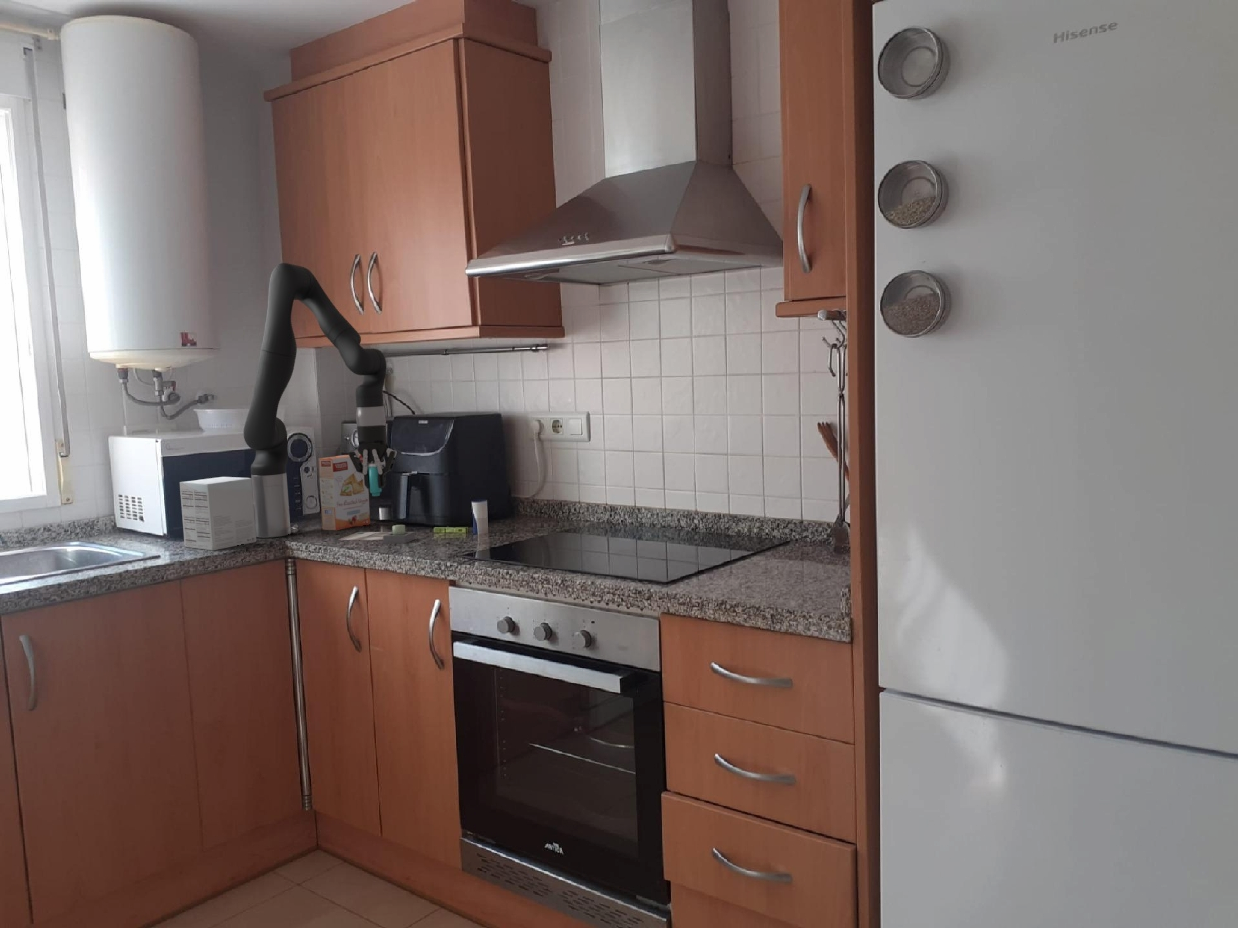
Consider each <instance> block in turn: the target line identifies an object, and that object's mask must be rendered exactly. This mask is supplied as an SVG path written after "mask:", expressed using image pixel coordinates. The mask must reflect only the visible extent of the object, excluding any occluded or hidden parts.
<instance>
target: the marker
mask: <svg viewBox="0 0 1238 928" xmlns="http://www.w3.org/2000/svg"><path fill="white" fill-rule="evenodd" d="M368 469H369V483H370V489H369V492H370V493H371V496H372V497H379V496H380V495H381V493H382V490H383V489H382V488H379V486H378V475H379V473H378V469H377V466H376V464H375V462H374V463H373V464H368Z"/></svg>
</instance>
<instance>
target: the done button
mask: <svg viewBox="0 0 1238 928" xmlns="http://www.w3.org/2000/svg"><path fill="white" fill-rule="evenodd" d="M391 529H392V531H391V532H393V535H405V532H406V525H405V524H396V525H392V527H391Z"/></svg>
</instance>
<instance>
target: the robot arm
mask: <svg viewBox="0 0 1238 928" xmlns="http://www.w3.org/2000/svg"><path fill="white" fill-rule="evenodd" d="M270 274H271V275H270V278H269V284H268V285H269V286H268V295H267V296H268V297H267V310H266V311H267V312H266V317H265V318H266V319H265V325H264V330H263V331H264V332H263V338H262V342H261V343H262V344H261V346H260V353H259V358H258V365H257V371H256V376H255V382H254V388H253V392H252V393H253V395H252V399H251V402H250V405H249V409H248V414H247V415H246V420H245V423H244V428H243V439H244V442H245V443H246V445H247V447H249V448H250V449H252V450H254V451H255V457H254V461H253V462H252V463H251V465H250V475H251V477H250V478H251V480H252V494H253V506H254V519H255V531H256V538H261V539H264V538H277V537H278V538H279V537H285V536H288V534H289V535H290V534H291V523H290V521H291V520H290V506H289V505H290V504H289V491H288V479H287V465H288V461H289V448H288V445H289V444H288V432H287V428H286V425H285V423H284V421H282V419H280V418H279V417H278V416H277V415H278V409H279V404H280V400H281V399H282V397H283V394H284V392H285V391H286V389H287V386H288V385H289V383H290V381H291V378H292V376H293V372H294V371H295V370H294V369H295V364H296V358H297V352H298V351H297V350H298V349H297V348H298V347H297V341H296V337H295V333H294V328H293V326H292V325H293V324H292V311H293V305H294V301H299V302H300V303H302V304H303V305H304V306H306V307H307V309H309V310H310V311H311V312H312V314H313V315H314V316H315V318H316V320H317V323H318V326H319V328H320V330H321V331H322V334H324V336H325V337H326V338H327V339H328V341H329V342H331V344H332V345H333V346H334V347H335V348H336V349H337V350H338V352H339V354H340V356H341V358H342V360H343V362H344V364H345V366H346V367H347V369H349V371H351V372H352V373H353V374H355V375H357V376H363V381H362V384H360V385H358V386H356V388H355V403H356V404H355V405H356V414H355V419H356V431H357V432H356V433H357V434H356V435H357V441H358V445H357V448H356V449H355V450H353V451H349V452H348V455H349V456H350V458H351V460H352V463H353V465H354V467H355V469H356V471H357V472H360V473H362V474H363V475H364V484H365V486H366V488H367V489H368V490H370V483H369V469H368V464H373V462H374V463H375V464H376V466H377V469H378V473H379V475H378V486H379V488H381V489H384V488H385V487H386V485H387V477H386V476H387V473H388V472H391V471H393V468H394V466H395V462H396V460H397V457H398V454H399V452H398V450H396V449H395V450H393V449H392V448H390V447H389V445H388V441H387V440H388V439H387V438H388V437H387V424H386V423H387V420H386V412H385V407H384V393H383V391H384V385H385V380H386V375H387V374H386V373H387V360H386V356H385V355H384V353H383V352H382V351H381V350H379V349H378V348H364V347H362V346H361V345H360V344H361V343H362V336H361V335H360V333H359V332H358V331H357V330H356V328H355V327H353V325H352V324H351V323H350V322H349V321H348V320H347V319H346V318H345V317H344V315H343V314H342V313H341V312H340V311H339V309H337V307H336V306H335V305H334V303H333V302H332V300H331V299H330V297H329V296H328V295H327V293H326V292H325V290H324V288H323V287H322V286H321V284H320V283H319V281H318V280H317V278H316V277H315V275H314V274H313V272H311V270H310V269H308V268H306V267H304V266H300V265H297V264H293V263H289V262H288V263H287V262H281V263H279V264H277V265H276V266H275V267H274V268H273V270H272V271H271V273H270ZM359 454H360V455H361V456H362V457H363V464H362V462H361V460H360V458H359V457H360V455H359ZM386 455H387V460H385V456H386Z"/></svg>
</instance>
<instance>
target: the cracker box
mask: <svg viewBox="0 0 1238 928" xmlns="http://www.w3.org/2000/svg"><path fill="white" fill-rule="evenodd" d="M359 455H360V453H359ZM359 458H360V460H361V462H362V464H363V457H362V456H361V455H360V457H359ZM318 470H319V472H318V473H319V474H318V475H319V489H320V490H319V491H320V492H319V493H320V507H321V509H320V510H321V525H322V526H321V527H322V530H324V531H325V530H326V531H339V530H345V529H349V528H352V527H364V526H363V525H366V526H369V524H370V525H371V517H370V516H371V515H370V513H371V512H370V495H369V492H370V490H369V489H367V488H366V486H365V484H364V475H363V474H362V473H360V472H357V471H356V469H355V467H354V465H353V463H352V460H351V458H350V456H349V454H343V455H335V456H329V457H320V458H318Z"/></svg>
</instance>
